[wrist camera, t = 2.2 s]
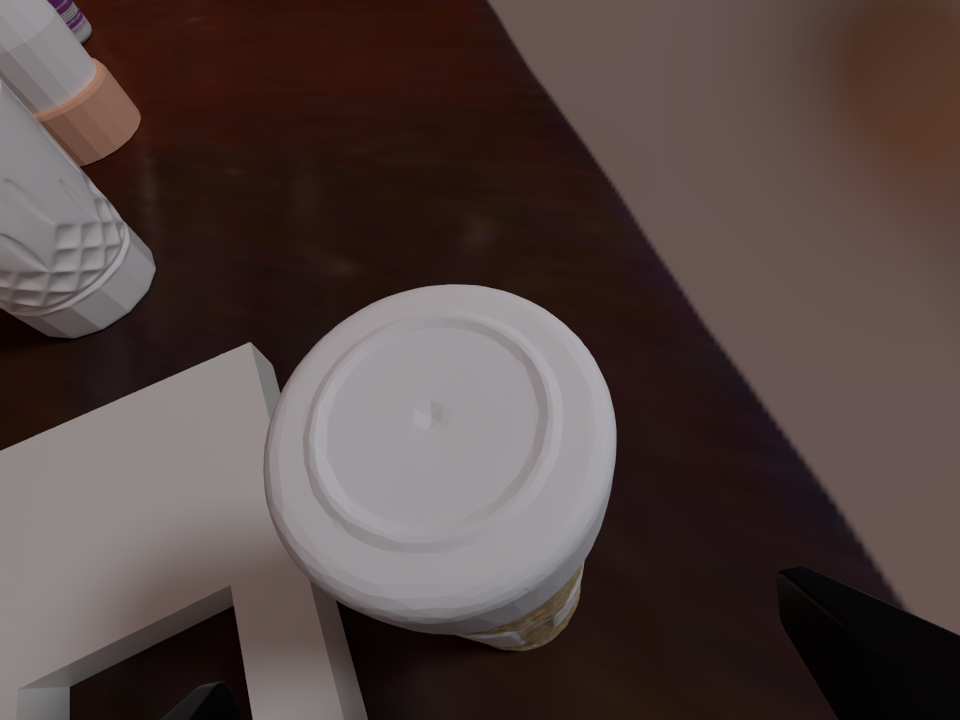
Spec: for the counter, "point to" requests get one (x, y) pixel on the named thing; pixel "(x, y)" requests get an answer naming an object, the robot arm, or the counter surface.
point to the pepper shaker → (62, 82)
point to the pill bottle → (73, 18)
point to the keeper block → (160, 548)
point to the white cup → (60, 236)
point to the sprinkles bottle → (445, 464)
